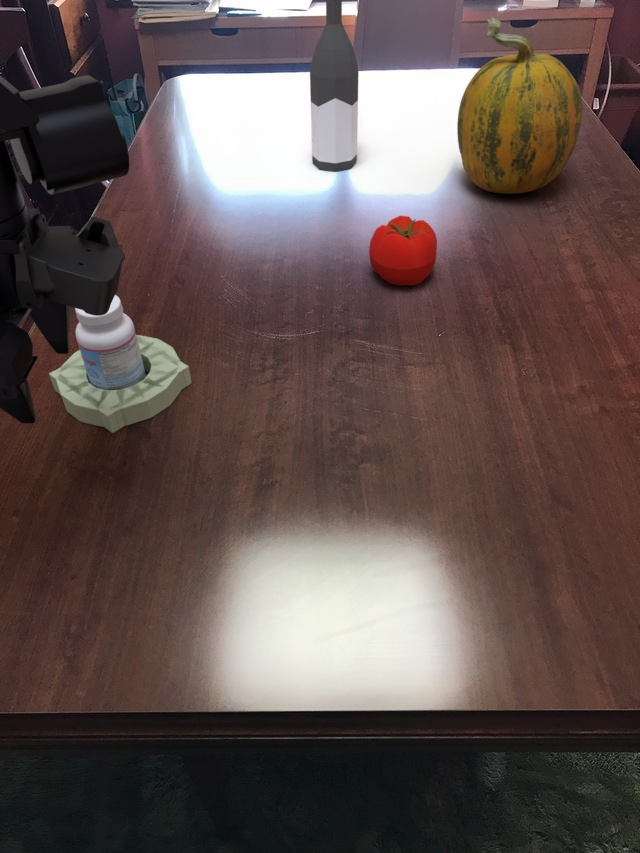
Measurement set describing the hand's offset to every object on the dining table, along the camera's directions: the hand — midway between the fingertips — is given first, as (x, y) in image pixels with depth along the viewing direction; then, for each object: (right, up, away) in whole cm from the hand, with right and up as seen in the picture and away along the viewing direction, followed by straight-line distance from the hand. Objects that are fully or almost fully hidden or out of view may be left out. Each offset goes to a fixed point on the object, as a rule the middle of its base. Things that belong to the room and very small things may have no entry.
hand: (47, 385), depth 58 cm
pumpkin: (+55, +37, +58) cm, 88 cm away
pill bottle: (0, +1, +20) cm, 20 cm away
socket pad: (+1, +1, +20) cm, 20 cm away
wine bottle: (+26, +44, +67) cm, 84 cm away
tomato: (+35, +17, +37) cm, 54 cm away
